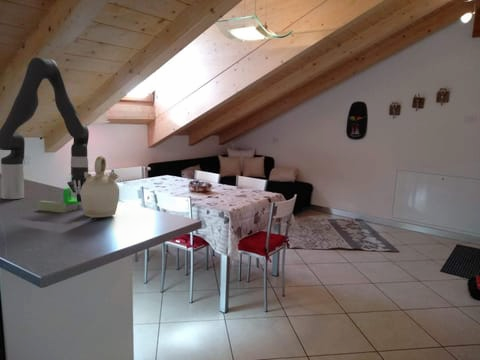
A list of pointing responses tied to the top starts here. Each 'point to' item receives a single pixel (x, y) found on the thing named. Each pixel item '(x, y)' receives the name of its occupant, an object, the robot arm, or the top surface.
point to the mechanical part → (69, 197)
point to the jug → (100, 192)
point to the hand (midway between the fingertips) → (80, 201)
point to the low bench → (56, 206)
